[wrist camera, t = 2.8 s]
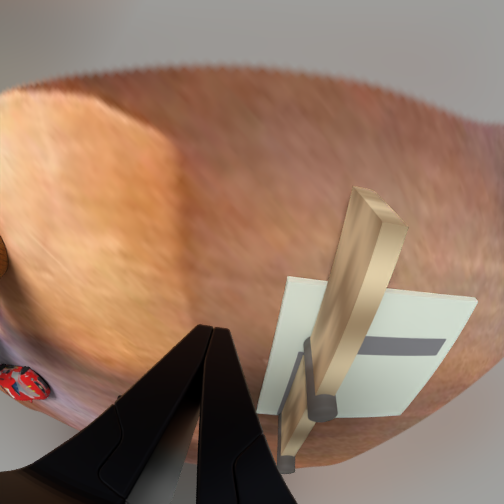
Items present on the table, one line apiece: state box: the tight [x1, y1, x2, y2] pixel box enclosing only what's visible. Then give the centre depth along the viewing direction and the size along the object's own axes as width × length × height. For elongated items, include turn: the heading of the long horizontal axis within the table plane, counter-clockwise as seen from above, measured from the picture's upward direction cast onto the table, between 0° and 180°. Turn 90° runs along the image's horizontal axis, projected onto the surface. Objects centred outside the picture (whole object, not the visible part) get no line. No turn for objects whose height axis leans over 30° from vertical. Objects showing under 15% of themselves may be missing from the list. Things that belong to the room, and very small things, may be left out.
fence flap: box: [303, 186, 408, 422], centre depth 15 cm, size 13×2×6 cm, turn 173°
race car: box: [0, 364, 50, 403], centre depth 30 cm, size 13×5×4 cm, turn 104°
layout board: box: [256, 276, 478, 418], centre depth 23 cm, size 16×16×1 cm
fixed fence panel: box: [277, 355, 316, 474], centre depth 22 cm, size 10×2×7 cm, turn 173°
